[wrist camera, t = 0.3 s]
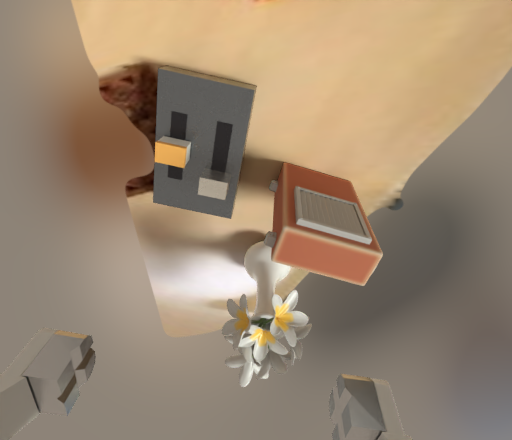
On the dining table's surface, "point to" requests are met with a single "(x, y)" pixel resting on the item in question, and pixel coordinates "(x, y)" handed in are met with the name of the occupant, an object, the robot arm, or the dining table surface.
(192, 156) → the box
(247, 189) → the dining table surface
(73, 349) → the robot arm
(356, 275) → the orange retro radio
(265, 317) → the flower vase
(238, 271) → the dining table surface
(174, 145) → the block
